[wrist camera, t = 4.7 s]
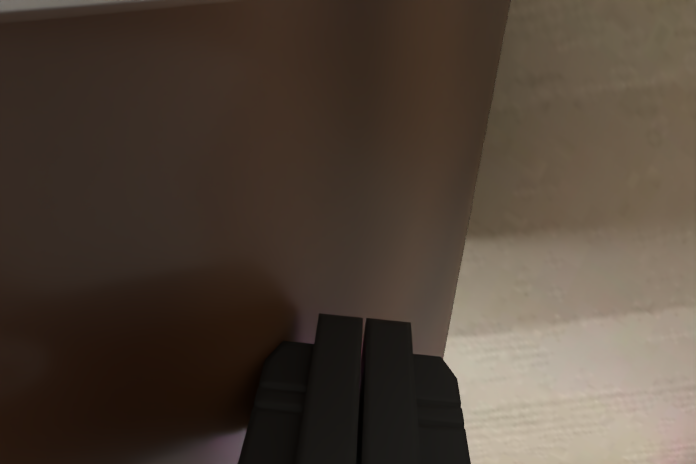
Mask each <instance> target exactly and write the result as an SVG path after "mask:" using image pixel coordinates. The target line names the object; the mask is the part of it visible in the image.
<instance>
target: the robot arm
mask: <svg viewBox="0 0 696 464" xmlns="http://www.w3.org/2000/svg"><path fill="white" fill-rule="evenodd" d="M362 328H363V318H361V317H351V316H341V315H331V314H321V313H319V317H318V323H317V329H316V336H315V342H314V344H310V343H300V342H290V341H283V342H282V343H281V344H280V345H279V346H278V347H277V348H276V349H275V350H274V351H273V352H272V353H271V354H270V355H269V356H268V357H267V358H266V359H265V362H264V366H263V370H262V374H261V377H260V381H259V387H258V389H257V393H256V396H255V400H254V406H253V408H252V412H251V416H250V419H249V423H248V427H247V431H246V435H245V438H244V442H243V446H242V450H241V454H240V457H239V461H238V464H471V463H470V457H469V450H468V444H467V438H466V432H465V429H464V419H463V413H462V408H461V401H460V394H459V388H458V382H457V378H456V377H455V375H454V374H453V373H452V371H451V370H450V369H449V367H448V366H447V364H446V363H445V362H444V360H443V359H442V358H441V356H431V355H421V354H413V344H412V330H411V323H410V322H402V321H392V320H382V319H373V318H366V323H365V331H364V339H363V347H362ZM361 349H362V355H361Z"/></svg>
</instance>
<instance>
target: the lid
mask: <svg viewBox="0 0 696 464" xmlns="http://www.w3.org/2000/svg"><path fill="white" fill-rule="evenodd" d="M510 2H511V0H0V464H238V461H239V457H240V454H241V450H242V446H243V442H244V438H245V435H246V431H247V427H248V423H249V419H250V416H251V412H252V408H253V406H254V400H255V396H256V393H257V389H258V387H259V381H260V377H261V374H262V370H263V366H264V362H265V359H266V358H267V357H268V356H269V355H270V354H271V353H272V352H273V351H274V350H275V349H276V348H277V347H278V346H279V345H280V344H281V343H282V342H283V341H290V342H300V343H310V344H314V342H315V336H316V329H317V323H318V317H319V313H321V314H331V315H341V316H351V317H361V318H363V328H362V347H363V339H364V331H365V323H366V318H373V319H382V320H392V321H402V322H410V323H411V330H412V344H413V354H421V355H431V356H441V358H442V359H443V356H444V351H445V346H446V340H447V335H448V330H449V324H450V319H451V314H452V309H453V303H454V298H455V293H456V287H457V282H458V277H459V272H460V266H461V261H462V256H463V250H464V245H465V240H466V235H467V229H468V224H469V219H470V213H471V208H472V203H473V198H474V192H475V187H476V182H477V176H478V171H479V166H480V160H481V155H482V150H483V145H484V139H485V134H486V129H487V123H488V118H489V113H490V108H491V102H492V97H493V92H494V86H495V81H496V76H497V71H498V65H499V60H500V55H501V49H502V44H503V39H504V34H505V28H506V23H507V18H508V12H509V7H510ZM361 355H362V349H361Z"/></svg>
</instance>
